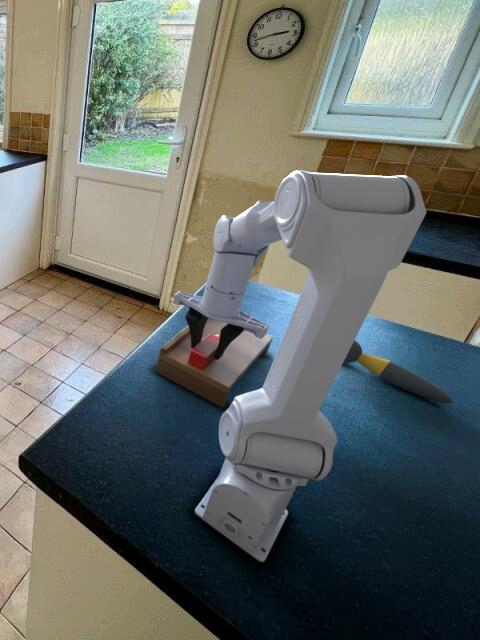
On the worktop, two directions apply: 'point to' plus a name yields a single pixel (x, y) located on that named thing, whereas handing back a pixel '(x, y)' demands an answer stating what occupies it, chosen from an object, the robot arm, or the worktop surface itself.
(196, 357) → the red rectangular prism
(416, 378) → the paintbrush
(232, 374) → the shelf
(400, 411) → the worktop surface
